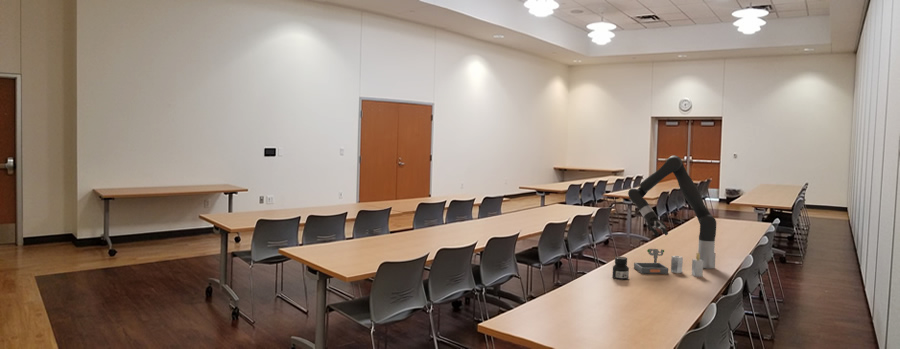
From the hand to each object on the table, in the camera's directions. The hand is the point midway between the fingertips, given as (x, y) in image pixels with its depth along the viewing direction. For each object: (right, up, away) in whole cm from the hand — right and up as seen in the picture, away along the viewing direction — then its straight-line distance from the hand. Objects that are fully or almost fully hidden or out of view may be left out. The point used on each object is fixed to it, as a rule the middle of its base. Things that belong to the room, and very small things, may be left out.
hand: (662, 235), depth 355 cm
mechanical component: (-2, -20, +8) cm, 21 cm away
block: (+4, -21, -11) cm, 25 cm away
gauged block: (+13, -22, -19) cm, 32 cm away
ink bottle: (-35, -22, -27) cm, 49 cm away
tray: (-11, -21, -9) cm, 25 cm away
